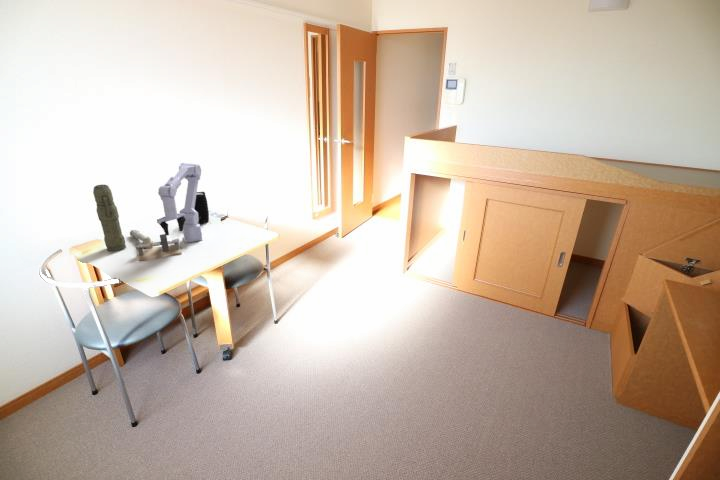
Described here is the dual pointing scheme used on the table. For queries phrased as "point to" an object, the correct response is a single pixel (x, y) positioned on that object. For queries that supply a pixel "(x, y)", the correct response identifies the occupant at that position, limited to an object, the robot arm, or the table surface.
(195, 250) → the table surface
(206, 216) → the portable speaker
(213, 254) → the table surface
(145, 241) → the toothbrush head
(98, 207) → the olive green carved statue
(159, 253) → the pipe rig
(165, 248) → the tall grey prism
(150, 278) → the table surface
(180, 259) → the table surface
